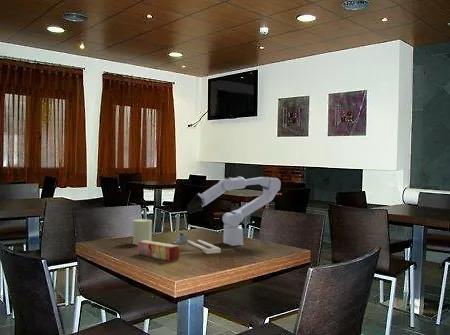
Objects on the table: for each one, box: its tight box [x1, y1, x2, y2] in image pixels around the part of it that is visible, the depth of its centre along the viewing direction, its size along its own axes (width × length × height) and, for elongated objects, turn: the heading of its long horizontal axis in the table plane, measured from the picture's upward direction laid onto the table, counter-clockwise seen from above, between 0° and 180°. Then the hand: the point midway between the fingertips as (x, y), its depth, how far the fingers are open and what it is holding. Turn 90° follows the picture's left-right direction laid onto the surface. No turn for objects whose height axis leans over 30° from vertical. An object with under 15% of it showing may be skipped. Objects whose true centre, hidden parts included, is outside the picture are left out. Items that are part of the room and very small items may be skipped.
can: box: [132, 218, 153, 246], centre depth 212 cm, size 9×9×12 cm
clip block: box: [175, 232, 189, 245], centre depth 211 cm, size 4×5×5 cm
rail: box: [187, 239, 222, 255], centre depth 203 cm, size 7×24×2 cm, turn 27°
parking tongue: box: [172, 241, 189, 245], centre depth 211 cm, size 7×7×1 cm
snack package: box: [137, 240, 181, 263], centre depth 181 cm, size 21×7×7 cm, turn 50°
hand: (188, 209), depth 206 cm, fingers open, 7 cm apart
